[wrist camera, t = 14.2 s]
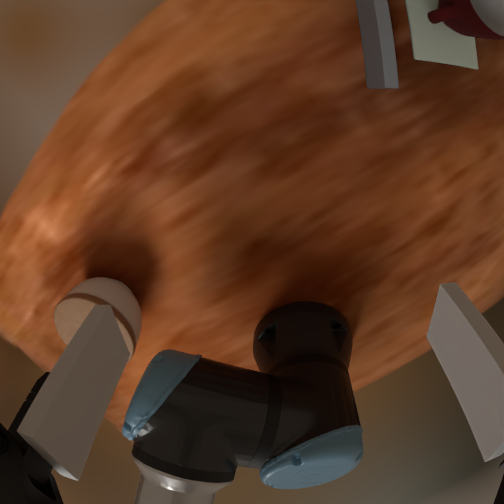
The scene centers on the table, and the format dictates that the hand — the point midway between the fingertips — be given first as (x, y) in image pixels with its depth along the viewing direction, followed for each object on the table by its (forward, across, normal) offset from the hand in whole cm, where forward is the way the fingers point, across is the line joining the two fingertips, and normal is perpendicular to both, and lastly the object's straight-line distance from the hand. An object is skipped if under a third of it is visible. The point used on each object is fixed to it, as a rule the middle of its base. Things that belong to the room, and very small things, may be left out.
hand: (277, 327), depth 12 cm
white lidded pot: (+28, +25, +17) cm, 41 cm away
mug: (+27, -24, -20) cm, 41 cm away
